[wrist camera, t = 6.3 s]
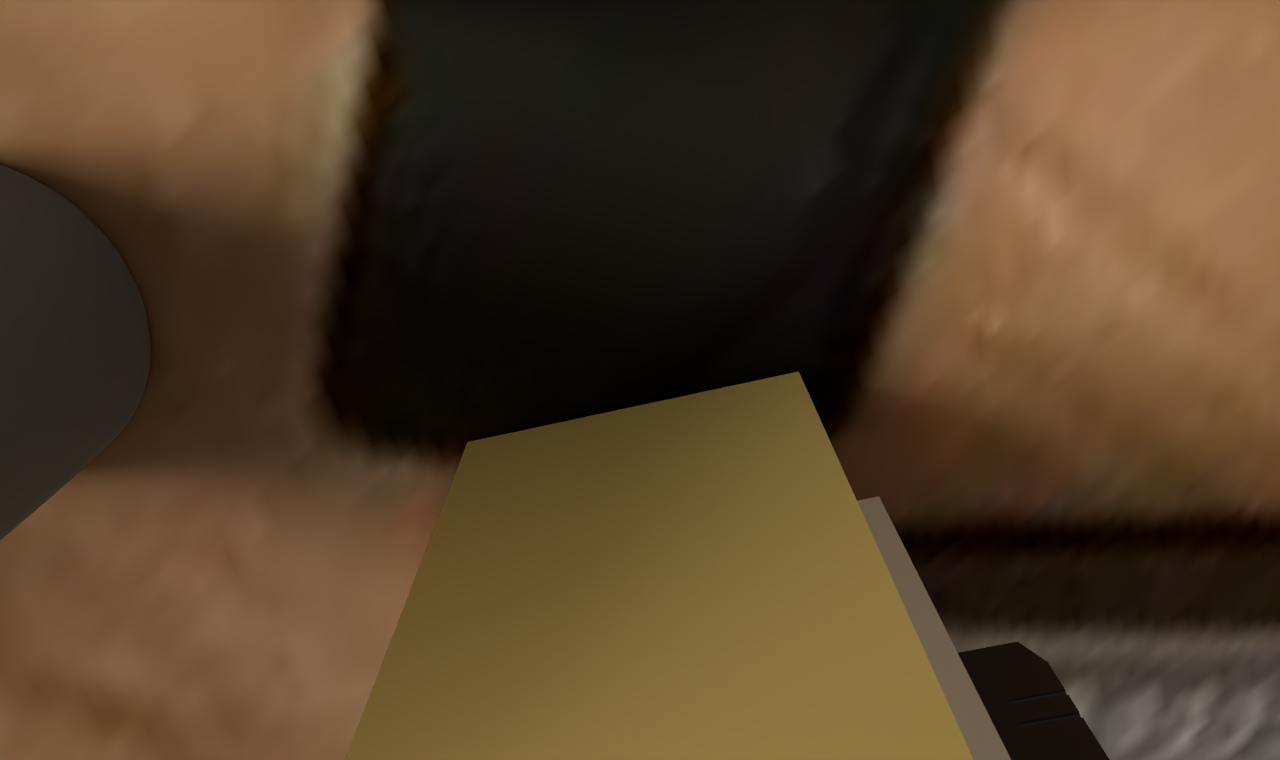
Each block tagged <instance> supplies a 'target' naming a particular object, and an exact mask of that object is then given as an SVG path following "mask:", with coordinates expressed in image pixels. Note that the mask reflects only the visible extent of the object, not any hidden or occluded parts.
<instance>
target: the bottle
mask: <svg viewBox="0 0 1280 760" xmlns="http://www.w3.org/2000/svg"><path fill="white" fill-rule="evenodd" d="M150 358H151V342H150V335H149V327H148V320H147V314H146V310H145V307H144V304H143V301H142V297H141V294H140V292H139V289H138V287H137V285H136V283H135V281H134V279H133V277H132V276H131V274H130V272H129V270H128V268H127V266H126V265H125V263H124V261H123V259H122V257H121V256H120V254H119V252H118V251H117V249H116V248H115V247H114V246H113V244H112V243H111V242H110V241H109V239H108V238H107V237H106V235H105V234H104V233H103V232H102V231H101V230H100V229H99V228H98V227H97V226H96V225H95V224H94V223H93V222H92V221H91V220H90V219H89V218H88V217H87V216H86V215H85V214H84V213H83V212H82V211H81V210H80V209H79V208H78V207H76V206H75V205H74V204H72V203H71V202H70V201H68V200H67V199H65V198H64V197H63V196H61V195H60V194H58V193H57V192H56V191H54V190H52V189H50V188H48V187H47V186H45V185H43V184H41V183H39V182H38V181H36V180H34V179H32V178H31V177H29V176H27V175H24V174H22V173H20V172H17V171H15V170H13V169H10V168H8V167H6V166H2V165H0V540H1V539H2V538H3V537H5V536H6V535H7V534H8V533H9V532H10V531H12V530H13V529H14V528H15V527H16V526H18V525H19V524H20V523H21V522H22V521H23V520H25V519H26V518H27V517H28V516H29V515H30V514H32V513H33V512H34V511H35V510H36V509H37V508H39V507H40V506H41V505H42V504H43V503H44V502H46V501H47V500H48V499H49V498H50V497H51V496H52V495H54V494H55V493H56V492H57V491H58V490H59V489H60V488H62V487H63V486H64V485H65V484H66V483H67V482H68V481H69V480H71V479H72V478H73V477H74V476H75V475H76V474H77V473H79V472H80V471H81V470H82V469H83V468H84V467H85V466H86V465H88V464H89V463H90V462H91V461H92V460H93V459H94V458H96V457H97V456H98V455H99V454H100V453H101V452H102V451H103V450H104V449H105V448H106V447H107V446H108V445H109V444H110V443H111V442H113V441H114V440H115V439H116V437H117V436H118V435H119V434H120V433H121V432H122V430H123V429H124V428H125V427H126V426H127V424H128V422H129V421H130V419H131V418H132V416H133V414H134V413H135V411H136V409H137V408H138V405H139V403H140V401H141V399H142V397H143V395H144V391H145V387H146V384H147V380H148V376H149V372H150Z"/></svg>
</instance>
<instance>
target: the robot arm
mask: <svg viewBox="0 0 1280 760" xmlns="http://www.w3.org/2000/svg"><path fill="white" fill-rule="evenodd" d="M857 502H858V504H859V506H860V509H861V511H862V513H863V515H864V517H865V520H866V522H867V524H868V526H869V529H870V531H871V533H872V535H873V537H874V540H875V542H876V544H877V546H878V549H879V551H880V553H881V555H882V557H883V560H884V562H885V564H886V566H887V569H888V571H889V573H890V575H891V577H892V580H893V582H894V584H895V586H896V589H897V591H898V593H899V595H900V597H901V600H902V602H903V604H904V606H905V608H906V611H907V613H908V615H909V617H910V620H911V622H912V624H913V626H914V628H915V631H916V633H917V635H918V637H919V640H920V642H921V644H922V646H923V648H924V651H925V653H926V655H927V657H928V660H929V662H930V664H931V666H932V668H933V671H934V673H935V675H936V677H937V680H938V682H939V684H940V686H941V688H942V691H943V693H944V695H945V697H946V700H947V702H948V704H949V706H950V708H951V711H952V713H953V715H954V717H955V719H956V722H957V724H958V726H959V728H960V731H961V733H962V735H963V737H964V739H965V742H966V744H967V746H968V748H969V751H970V753H971V755H972V757H973V759H974V760H1109V758H1108V757H1107V755H1106V754H1105V752H1104V750H1103V749H1102V747H1101V746H1100V744H1099V743H1098V741H1097V739H1096V738H1095V736H1094V735H1093V733H1092V731H1091V730H1090V728H1089V727H1088V725H1087V724H1086V722H1085V720H1084V719H1083V718H1081V717H1080V714H1079V711H1078V709H1077V708H1076V706H1075V705H1074V703H1073V701H1072V700H1071V698H1070V697H1069V695H1066V692H1065V689H1064V687H1063V686H1062V684H1061V683H1060V681H1059V679H1058V678H1057V676H1056V675H1055V673H1054V672H1053V670H1052V668H1051V667H1050V665H1049V664H1048V662H1046V661H1045V660H1043V659H1042V658H1041V657H1039V656H1038V655H1036V654H1035V653H1033V652H1032V651H1030V650H1029V649H1027V648H1026V647H1024V646H1023V645H1022V644H1020V643H1019V642H1013V643H1008V644H1003V645H997V646H992V647H987V648H981V649H976V650H971V651H965V652H960V653H957V651H956V649H955V647H954V645H953V643H952V641H951V639H950V637H949V635H948V633H947V631H946V629H945V627H944V625H943V623H942V621H941V619H940V617H939V615H938V613H937V611H936V609H935V607H934V605H933V603H932V601H931V599H930V597H929V595H928V593H927V591H926V589H925V587H924V585H923V583H922V581H921V579H920V577H919V575H918V573H917V571H916V569H915V567H914V565H913V563H912V561H911V559H910V557H909V555H908V553H907V551H906V549H905V547H904V545H903V543H902V541H901V539H900V537H899V535H898V533H897V531H896V529H895V527H894V525H893V523H892V521H891V519H890V517H889V515H888V513H887V511H886V509H885V507H884V505H883V503H882V501H881V499H880V497H879V496H878V497H873V498H868V499H863V500H858V501H857Z"/></svg>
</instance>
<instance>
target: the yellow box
mask: <svg viewBox="0 0 1280 760" xmlns="http://www.w3.org/2000/svg"><path fill="white" fill-rule="evenodd" d="M345 760H974V759H973V757H972V755H971V753H970V751H969V748H968V746H967V744H966V742H965V739H964V737H963V735H962V733H961V731H960V728H959V726H958V724H957V722H956V719H955V717H954V715H953V713H952V711H951V708H950V706H949V704H948V702H947V700H946V697H945V695H944V693H943V691H942V688H941V686H940V684H939V682H938V680H937V677H936V675H935V673H934V671H933V668H932V666H931V664H930V662H929V660H928V657H927V655H926V653H925V651H924V648H923V646H922V644H921V642H920V640H919V637H918V635H917V633H916V631H915V628H914V626H913V624H912V622H911V620H910V617H909V615H908V613H907V611H906V608H905V606H904V604H903V602H902V600H901V597H900V595H899V593H898V591H897V589H896V586H895V584H894V582H893V580H892V577H891V575H890V573H889V571H888V569H887V566H886V564H885V562H884V560H883V557H882V555H881V553H880V551H879V549H878V546H877V544H876V542H875V540H874V537H873V535H872V533H871V531H870V529H869V526H868V524H867V522H866V520H865V517H864V515H863V513H862V511H861V509H860V506H859V504H858V502H857V500H856V497H855V495H854V493H853V491H852V489H851V486H850V484H849V482H848V480H847V478H846V475H845V473H844V471H843V469H842V466H841V464H840V462H839V460H838V458H837V455H836V453H835V451H834V449H833V446H832V444H831V442H830V440H829V438H828V435H827V433H826V431H825V429H824V426H823V424H822V422H821V420H820V418H819V415H818V413H817V411H816V409H815V406H814V404H813V402H812V400H811V398H810V395H809V393H808V391H807V389H806V386H805V384H804V382H803V380H802V378H801V375H800V373H799V372H794V373H789V374H785V375H780V376H775V377H771V378H766V379H761V380H757V381H752V382H747V383H743V384H738V385H733V386H728V387H724V388H719V389H714V390H710V391H705V392H700V393H696V394H691V395H686V396H681V397H677V398H672V399H667V400H663V401H658V402H653V403H649V404H644V405H639V406H635V407H630V408H625V409H620V410H616V411H611V412H606V413H602V414H597V415H592V416H588V417H583V418H578V419H573V420H569V421H564V422H559V423H555V424H550V425H545V426H541V427H536V428H531V429H527V430H522V431H517V432H512V433H508V434H503V435H498V436H494V437H489V438H484V439H480V440H475V441H470V442H467V445H466V447H465V450H464V452H463V455H462V458H461V460H460V463H459V465H458V468H457V471H456V473H455V476H454V478H453V481H452V484H451V486H450V489H449V491H448V494H447V497H446V499H445V502H444V504H443V507H442V510H441V512H440V515H439V517H438V520H437V523H436V525H435V528H434V530H433V533H432V536H431V538H430V541H429V543H428V546H427V549H426V551H425V554H424V556H423V559H422V562H421V564H420V567H419V569H418V572H417V575H416V577H415V580H414V582H413V585H412V588H411V590H410V593H409V595H408V598H407V601H406V603H405V606H404V608H403V611H402V614H401V616H400V619H399V621H398V624H397V627H396V629H395V632H394V634H393V637H392V640H391V642H390V645H389V647H388V650H387V653H386V655H385V658H384V660H383V663H382V665H381V668H380V671H379V673H378V676H377V678H376V681H375V684H374V686H373V689H372V691H371V694H370V697H369V699H368V702H367V704H366V707H365V710H364V712H363V715H362V717H361V720H360V723H359V725H358V728H357V730H356V733H355V736H354V738H353V741H352V743H351V746H350V749H349V751H348V754H347V756H346V759H345Z"/></svg>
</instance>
